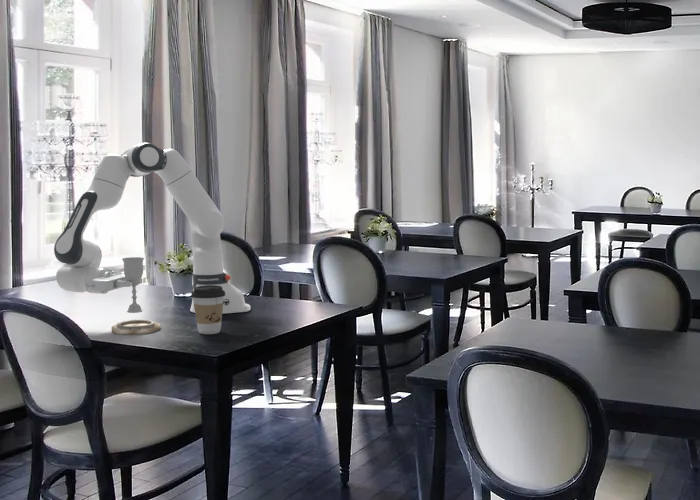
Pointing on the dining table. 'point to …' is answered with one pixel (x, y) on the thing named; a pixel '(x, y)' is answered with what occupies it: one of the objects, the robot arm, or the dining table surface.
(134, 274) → the chalice
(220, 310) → the coffee cup
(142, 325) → the beige ring base
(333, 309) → the dining table surface
